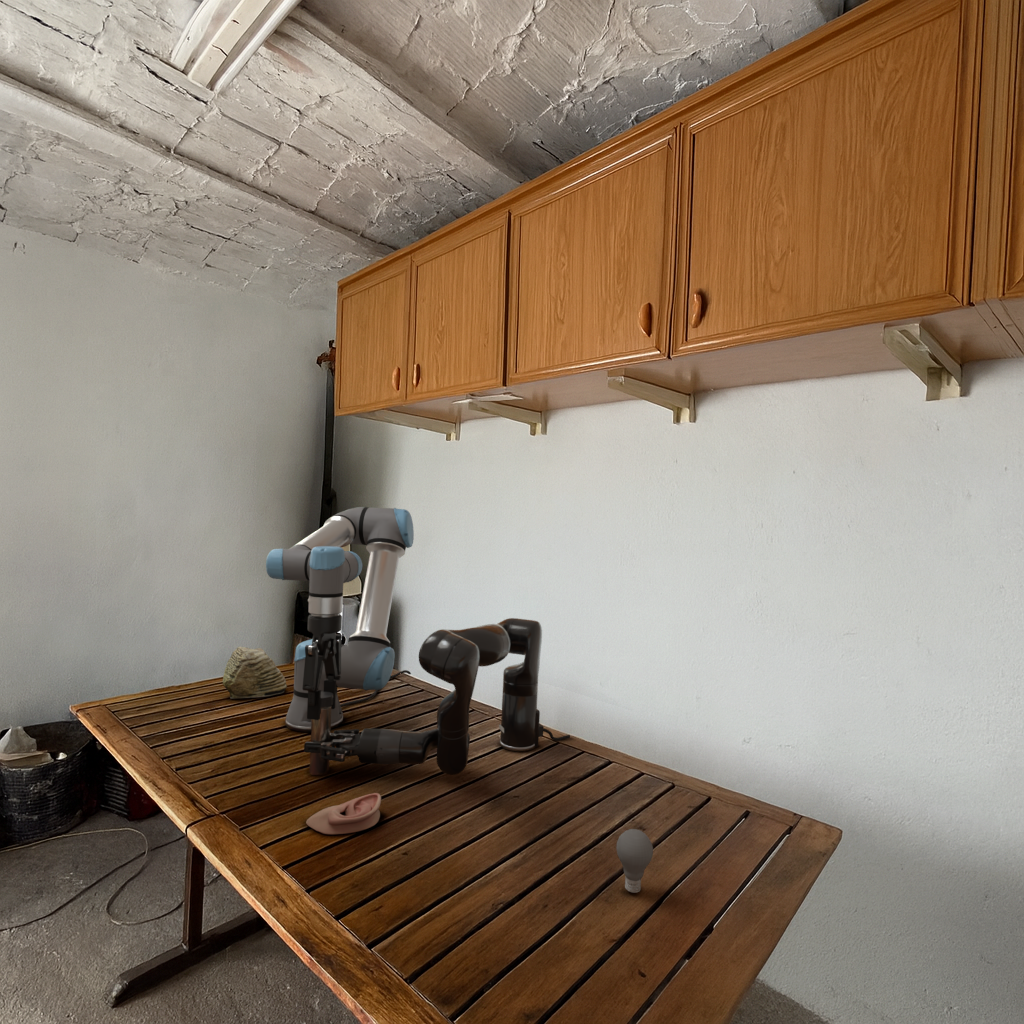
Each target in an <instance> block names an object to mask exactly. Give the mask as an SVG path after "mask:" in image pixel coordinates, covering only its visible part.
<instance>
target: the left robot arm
mask: <svg viewBox="0 0 1024 1024" xmlns="http://www.w3.org/2000/svg"><path fill="white" fill-rule="evenodd" d="M414 532H415V531H414V523H413V518H412V514H411V512H409V510H408V509H405V508H397V507H393V508H391V507H372V506H371V507H369V506H357V507H351V508H348V509H346V510H343V511H340V512H338V513H336V514H334V515H332V516H330V517H329V518H328V519H326V520H325V522H324V524H323V526H321V527H320V528H319V529H317V530H316V531H314V532H312V533H311V534H309V535H307V536H306V537H304V538H303V539H302V540H300V541H299V542H297V543H296V544H294V545H292V546H291V547H290V548H283V547H282V548H274V549H271V550H270V551H269V552H268V554H267V556H266V560H265V561H266V562H265V570H266V573H267V575H268V577H269V578H270V579H274V580H282V581H299V582H308V587H309V589H308V599H307V602H308V613H309V615H308V616H307V631H308V632H309V633H311V634H312V639H307V640H304V641H302V642H300V643H298V644H297V645H296V647H295V654H294V659H293V661H294V670H293V671H294V672H293V695H292V696H293V697H292V699H291V702H290V704H289V708H288V709H287V713H286V715H285V726H286V728H287V729H289V730H291V731H294V732H295V731H296V732H301V733H311V721H312V719H313V720H319V719H320V701H321V692H331V693H333V696H334V699H333V705H331V729H330V730H332V729H335V728H337V727H339V726H340V725H342V723H343V722H344V714H343V709H342V708H344V707H346V706H351V705H355V704H359V703H363V702H366V701H369V700H372V698H374V697H375V696H376V695H377V694H378V692H379V691H380V690H382V689H384V688H385V686H387V684H388V683H389V681H390V680H391V679H394V678H397V677H398V676H400V675H402V674H408V675H411V674H412V673H411V672H410V671H409V670H407V669H404V670H401V671H399V672H397V673H395V674H393V675H392V673H393V671H394V666H395V657H396V653H395V650H394V648H393V647H391V641H390V640H389V639H388V637H387V633H388V625H389V621H390V620H389V619H390V614H391V608H392V603H393V602H392V601H393V597H394V590H395V584H396V577H397V571H398V566H399V559H400V558H402V557H404V556H405V554H406V549H410V548H412V547H413V544H414V539H415V538H414V536H415V535H414V534H415V533H414ZM349 545H361V546H365V549H366V551H367V552H368V553H369V558H368V563H367V568H366V574H365V580H364V585H363V589H362V596H361V599H360V605H359V612H358V616H357V621H356V622H357V623H356V627H355V632H354V633H353V634H351V635H350V636H348V640H347V644H342V638H343V635H342V634H338V633H339V632H341V631H342V628H343V615H342V613H343V609H344V608H343V605H344V584H346V583H350V582H352V581H354V580H355V579H357V578H358V577H359V576H360V574H361V573H362V572H363V561H362V558H361V557H360V556H359V555H358V554H357V553H356V552H355V551H350V550H344V548H346V547H347V546H349ZM400 673H401V674H400ZM338 688H340V689H354V690H364V691H374V692H373V693H372V694H371V695H369V696H367V697H363V698H360V699H356V700H351V701H347V702H344V703H341V702H340V699H339V695H338Z"/></svg>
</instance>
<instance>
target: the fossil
mask: <svg viewBox="0 0 1024 1024" xmlns="http://www.w3.org/2000/svg"><path fill="white" fill-rule="evenodd" d="M222 676H223V677H222V685H223V687H224V688H225V690H226V691H228V693H229V698H230V699H250V698H264V697H271V696H275V695H281V694H284V693H285V691H286V689H287V687H288V686H287V680H286V678H285V676H284V674H283V673H282V672H281V669H279V668H278V667H277V665H276V663H275V662H274V660H273V659H272V658H271V657H270V656H269V655H268V654H267V653H266V652H265V650H264V649H263V648H260V647H258V648H251V647H247V646H246V647H245V646H238V647H237V648H236V649H235V650H233V651H232V653H231V656H230V657H229V659H228V660H227V663H226V666H225V668H224V671H223V675H222Z"/></svg>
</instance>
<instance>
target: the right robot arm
mask: <svg viewBox="0 0 1024 1024" xmlns="http://www.w3.org/2000/svg"><path fill="white" fill-rule="evenodd" d="M542 642H543V628H542V624H541V623H540V622H539V621H538V620H533V619H525V618H515V617H509V618H506V619H505V618H504V619H503V620H501V621H500V622H497V623H488V624H483V625H478V626H474V627H467V628H463V629H446V628H445V629H444V628H441V629H438V630H436V631H434V632H432V633H430V634H429V635H428V636H427V637H426V638H425V639H424V641H423V642H422V644H421V645H420V648H419V651H418V663H419V665H420V667H421V668H422V669H423V670H424V671H425V672H426V673H428V674H430V675H431V676H433V677H435V678H437V679H439V680H442V681H443V682H445V683H447V684H449V685H453V687H454V690H452V691H451V692H450V693H448V694H447V695H446V696H444V697H443V699H441V701H440V702H439V705H438V707H437V711H436V727H437V728H434V729H428V730H424V731H404V730H398V729H388V728H387V729H386V728H367V727H365V728H363V729H362V731H361V732H360V729H359V728H353V729H351V728H350V729H335V730H333V732H330V742H323V743H321V742H311V741H305V742H304V744H303V752H304V753H309V754H310V753H320V755H321V758H323V759H328V760H329V761H334V762H339V763H343V762H345V761H346V758H347V757H349V758H351V757H354V756H356V757H357V758H358V761H359V763H361V764H371V765H372V764H374V765H423V764H424V763H425V762H426V761H427V758H428V756H429V754H430V753H431V751H433V750H436V758H435V759H436V766H437V767H438V769H439V770H440V772H442V773H444V774H446V775H448V776H456V775H459V774H461V773H462V772H464V771H465V769H466V768H467V765H468V762H469V761H468V760H469V753H470V751H469V750H470V741H471V735H470V733H469V730H470V707H471V702H472V697H473V694H474V689H475V685H476V680H477V676H478V672H479V667H489V666H493V665H495V664H498V663H500V662H501V661H503V660H505V659H506V658H507V656H508V655H509V654H511V655H519V656H520V655H521V656H524V659H523V661H522V662H520V663H516V664H512V665H508V666H507V667H505V668H504V669H503V672H502V673H503V674H502V675H503V676H502V677H503V678H502V696H501V697H502V698H501V719H500V720H501V721H500V723H499V724H498V729H499V730H500V737H499V738H500V739H499V745H500V747H501V748H503V749H504V750H507V751H512V752H520V753H521V752H528V751H531V750H534V749H535V748H539V740H540V739H539V738H542V737H544V733H546V734H548V736H549V738H550V739H551V740H552V741H555V742H559V741H564V740H567V739H570V738H571V735H570V734H567V735H564V736H560V737H556V736H554V735H553V733H552V731H550V730H549V729H547V728H545V727H544V726H543V724H541V723H540V715H541V712H540V710H539V709H538V695H539V693H538V692H539V690H538V689H539V673H540V667H541V666H540V663H541V651H542Z"/></svg>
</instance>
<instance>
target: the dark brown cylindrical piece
mask: <svg viewBox="0 0 1024 1024" xmlns="http://www.w3.org/2000/svg"><path fill="white" fill-rule="evenodd" d="M331 730H332V729H331V706H329V707H324V708H320V719H319V720H313V719H312V721H311V732H310V742H321V743H323V742H330V733H331ZM329 771H330V760H328V759H323V758H321V755H320V753H309V774H310V775H312V776H323V775H326V774H328V773H329Z"/></svg>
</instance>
